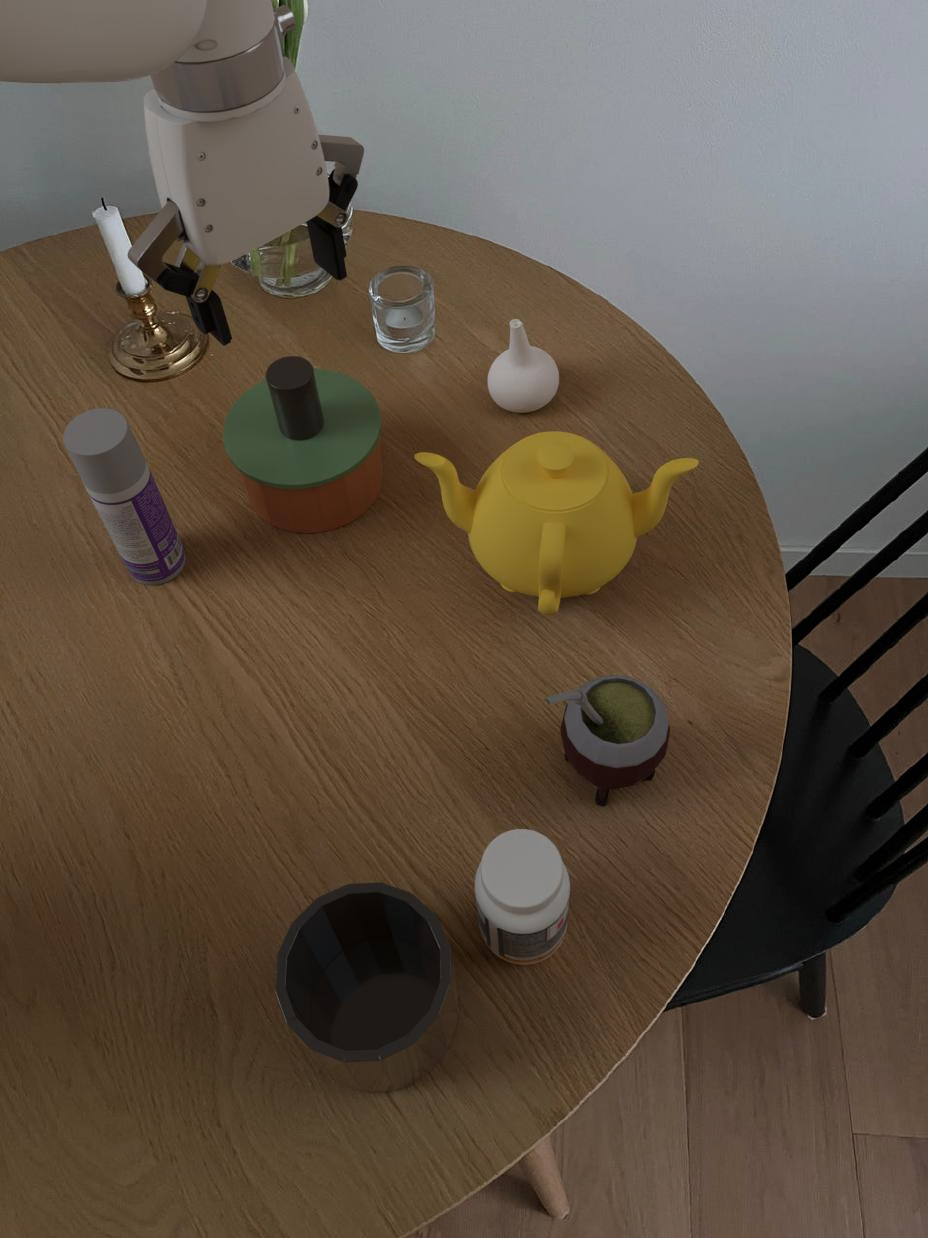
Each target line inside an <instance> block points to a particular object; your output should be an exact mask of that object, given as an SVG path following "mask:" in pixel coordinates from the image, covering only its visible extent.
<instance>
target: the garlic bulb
mask: <svg viewBox="0 0 928 1238" xmlns="http://www.w3.org/2000/svg"><path fill="white" fill-rule="evenodd" d="M509 330H510V332H509V343H508V344H509V346H508V349H506V350H505V351H503V352H502V353H500V354H499V355H498V356H497V357H496V358H495V359H494V361H493V362H492V364H491V365H490V368H489V370H488V373H487V389H488V392H489V396H490V397H491V399H492V400H493V402H494V403H495V404H496V405H497V406H498V407H500V408H502V409H504V410H506V411H509V412H512V413H515V414H516V413H517V414H526V413H531V412H535V411H538V410H540V409H542V408H543V407H545V406H546V405H547V404H549V403H550V402H551V401H552V399H554V397H555V395H556V394H557V392H558V389H559V385H560V372H559V368H558V365H557V363H556V362H555V360H554V358H553V357H552V356H551V355H550V354H549V353H548V352H547V351H545V350H543V348H540V347H536V346H533V345H531V344H530V342H529V338H528V335H527V332H526V329H525V327H524V322H522V321H521V320H520V319H519V318H513V319H511V320H510V321H509Z"/></svg>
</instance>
